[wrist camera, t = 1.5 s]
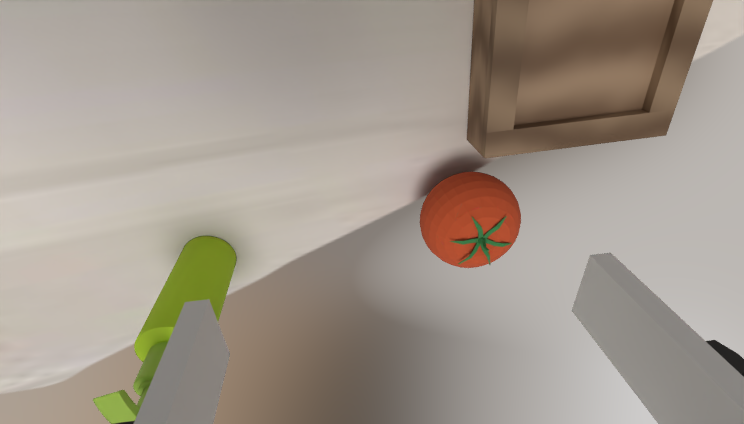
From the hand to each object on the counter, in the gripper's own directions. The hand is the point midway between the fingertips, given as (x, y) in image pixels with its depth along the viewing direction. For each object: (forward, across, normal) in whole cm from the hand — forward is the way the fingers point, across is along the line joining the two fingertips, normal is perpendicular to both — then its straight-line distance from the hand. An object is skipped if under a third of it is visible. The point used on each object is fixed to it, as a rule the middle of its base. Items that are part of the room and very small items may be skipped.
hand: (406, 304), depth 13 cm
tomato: (+27, +11, -12) cm, 32 cm away
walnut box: (+27, +20, +4) cm, 34 cm away
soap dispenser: (+27, -18, -16) cm, 36 cm away
